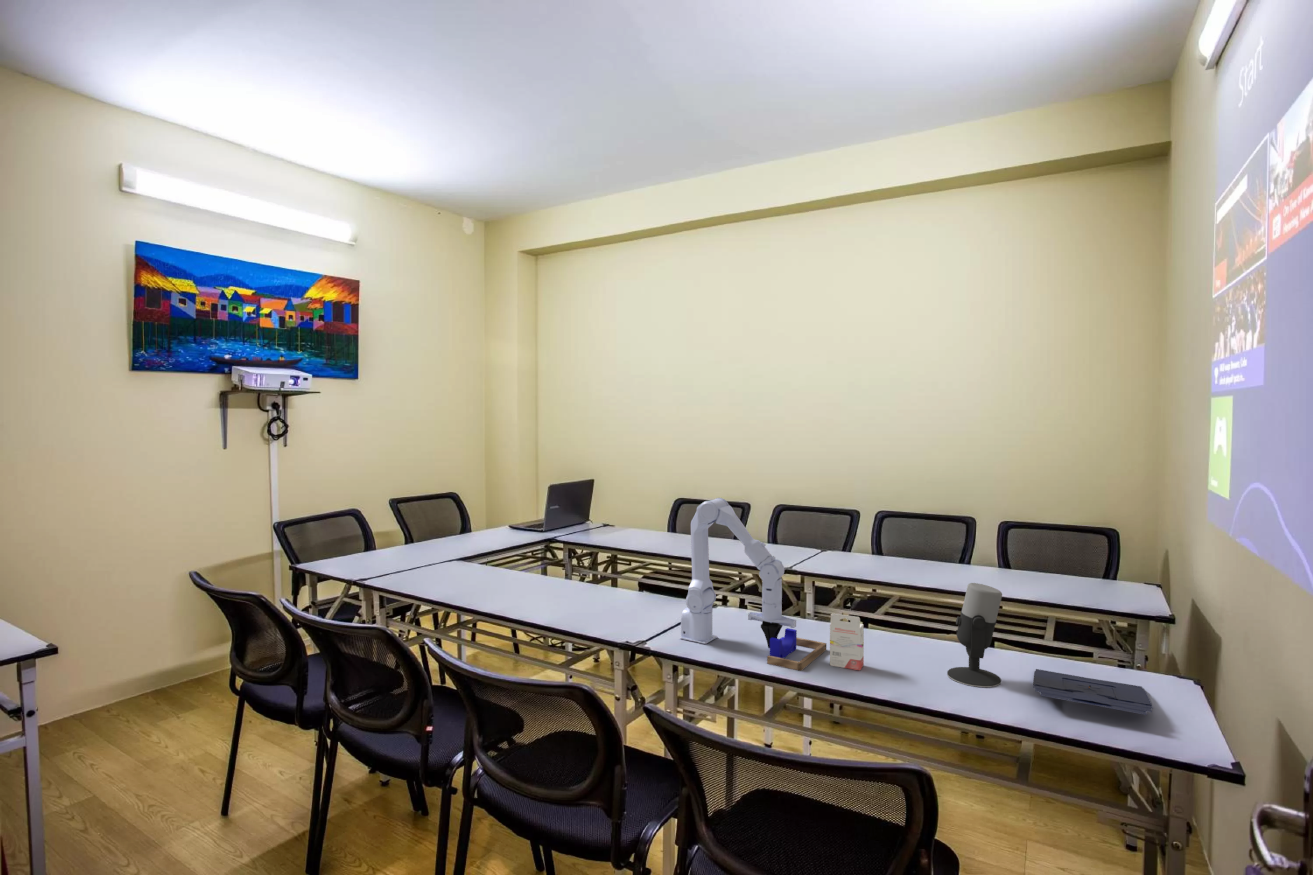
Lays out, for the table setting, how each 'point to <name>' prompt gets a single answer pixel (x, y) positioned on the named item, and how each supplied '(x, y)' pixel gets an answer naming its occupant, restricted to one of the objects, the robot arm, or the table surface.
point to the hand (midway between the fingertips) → (771, 647)
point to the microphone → (977, 634)
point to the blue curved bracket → (783, 644)
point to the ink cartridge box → (846, 642)
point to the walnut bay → (800, 665)
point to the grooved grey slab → (1092, 691)
